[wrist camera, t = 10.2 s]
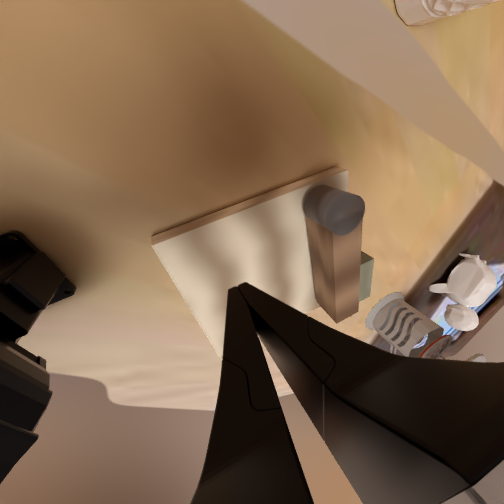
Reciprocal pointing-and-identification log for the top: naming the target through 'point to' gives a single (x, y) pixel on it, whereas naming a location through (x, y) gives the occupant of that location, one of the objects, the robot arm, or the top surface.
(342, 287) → the walnut leg
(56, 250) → the top surface
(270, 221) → the stool seat
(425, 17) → the white cup
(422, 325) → the french press
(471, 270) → the white animal figurine
